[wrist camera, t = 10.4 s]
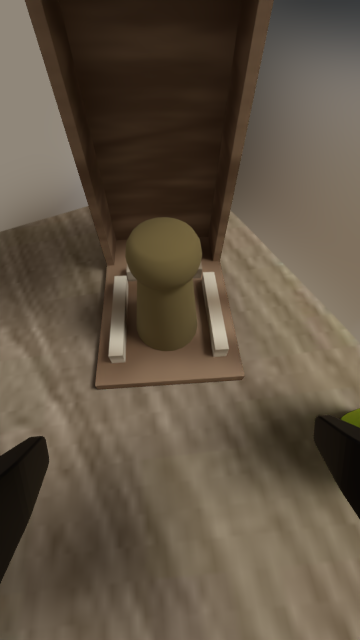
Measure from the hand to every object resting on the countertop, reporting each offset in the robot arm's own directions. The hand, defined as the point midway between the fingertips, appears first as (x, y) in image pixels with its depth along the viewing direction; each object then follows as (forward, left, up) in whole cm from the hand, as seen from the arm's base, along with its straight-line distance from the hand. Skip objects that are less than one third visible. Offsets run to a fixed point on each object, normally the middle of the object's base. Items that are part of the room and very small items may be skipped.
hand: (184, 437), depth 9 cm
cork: (+12, +2, -13) cm, 18 cm away
